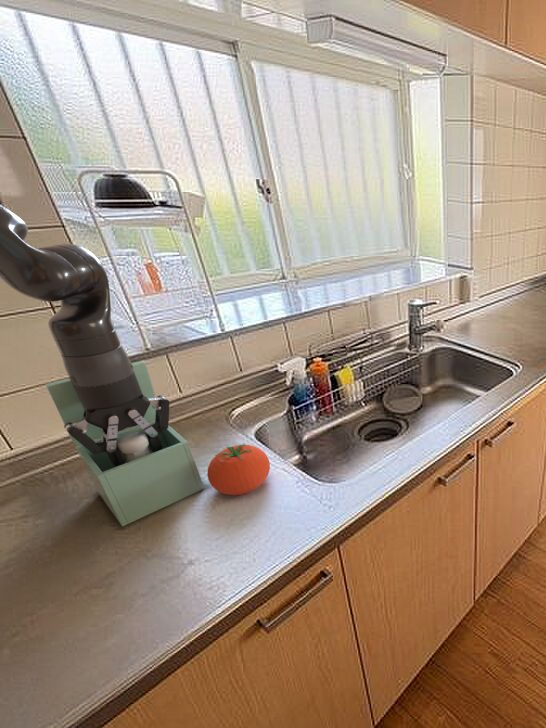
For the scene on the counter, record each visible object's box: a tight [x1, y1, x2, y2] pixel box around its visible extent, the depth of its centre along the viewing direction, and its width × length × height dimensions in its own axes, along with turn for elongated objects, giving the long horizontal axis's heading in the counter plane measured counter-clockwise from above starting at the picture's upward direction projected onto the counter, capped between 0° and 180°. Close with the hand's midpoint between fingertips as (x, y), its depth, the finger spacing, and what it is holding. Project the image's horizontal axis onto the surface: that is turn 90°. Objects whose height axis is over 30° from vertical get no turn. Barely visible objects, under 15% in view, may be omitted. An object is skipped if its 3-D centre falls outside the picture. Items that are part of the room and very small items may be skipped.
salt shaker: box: [116, 432, 152, 463], centre depth 77 cm, size 6×6×13 cm
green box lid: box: [44, 360, 157, 447], centre depth 75 cm, size 13×13×5 cm
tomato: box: [206, 443, 271, 496], centre depth 81 cm, size 10×10×10 cm
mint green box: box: [75, 420, 205, 527], centre depth 78 cm, size 13×13×12 cm
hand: (139, 458), depth 76 cm, fingers closed on salt shaker, 4 cm apart
